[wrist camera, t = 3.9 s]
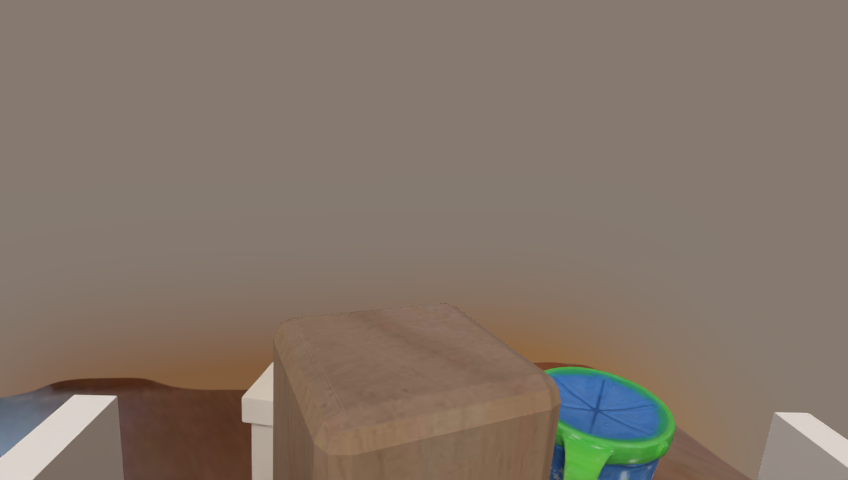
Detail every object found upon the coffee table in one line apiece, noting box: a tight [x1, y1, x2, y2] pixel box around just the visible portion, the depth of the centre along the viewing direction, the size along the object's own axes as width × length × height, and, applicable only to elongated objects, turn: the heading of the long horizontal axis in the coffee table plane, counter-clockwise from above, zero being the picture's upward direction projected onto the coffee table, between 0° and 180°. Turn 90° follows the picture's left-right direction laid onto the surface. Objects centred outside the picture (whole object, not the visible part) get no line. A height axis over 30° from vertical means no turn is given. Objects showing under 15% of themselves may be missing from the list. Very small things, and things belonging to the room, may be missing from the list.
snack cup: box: [544, 367, 675, 480], centre depth 38 cm, size 16×10×10 cm
